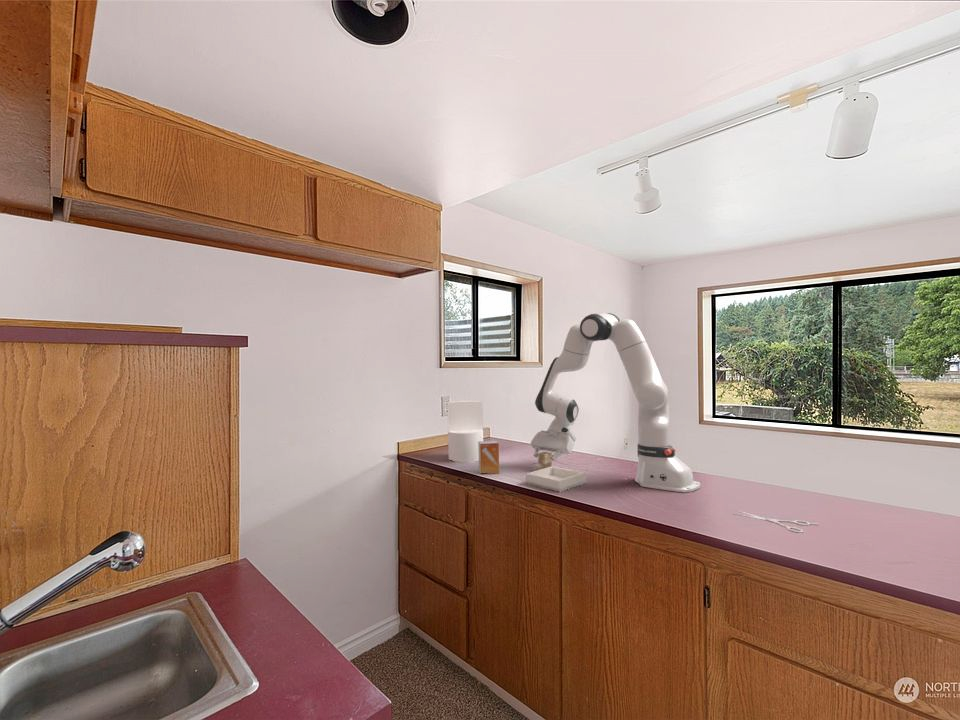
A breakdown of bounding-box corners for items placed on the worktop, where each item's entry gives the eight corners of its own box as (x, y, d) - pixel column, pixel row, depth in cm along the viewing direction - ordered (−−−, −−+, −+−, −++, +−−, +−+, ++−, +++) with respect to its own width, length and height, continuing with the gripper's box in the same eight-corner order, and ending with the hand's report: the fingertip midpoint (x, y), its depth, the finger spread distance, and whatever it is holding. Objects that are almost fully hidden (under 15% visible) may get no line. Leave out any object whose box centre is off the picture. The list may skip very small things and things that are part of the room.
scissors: (808, 534, 114) (725, 514, 129) (808, 537, 114) (725, 517, 129) (819, 523, 121) (739, 506, 136) (819, 526, 121) (739, 509, 136)
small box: (480, 474, 185) (479, 443, 185) (478, 471, 191) (477, 441, 191) (499, 473, 186) (498, 442, 186) (497, 469, 192) (496, 440, 192)
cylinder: (448, 455, 224) (446, 400, 224) (481, 454, 226) (480, 399, 226) (449, 463, 207) (447, 403, 207) (485, 461, 209) (484, 402, 209)
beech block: (551, 470, 189) (551, 453, 189) (545, 472, 186) (545, 454, 186) (544, 469, 192) (544, 451, 192) (538, 470, 189) (538, 453, 189)
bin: (585, 483, 168) (585, 472, 168) (559, 492, 157) (559, 481, 157) (552, 476, 179) (552, 466, 179) (526, 484, 169) (525, 473, 169)
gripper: (536, 426, 201) (522, 450, 195) (573, 430, 186) (559, 457, 179) (542, 434, 204) (529, 459, 198) (579, 439, 189) (566, 466, 182)
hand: (543, 458), depth 188 cm, fingers open, 8 cm apart
